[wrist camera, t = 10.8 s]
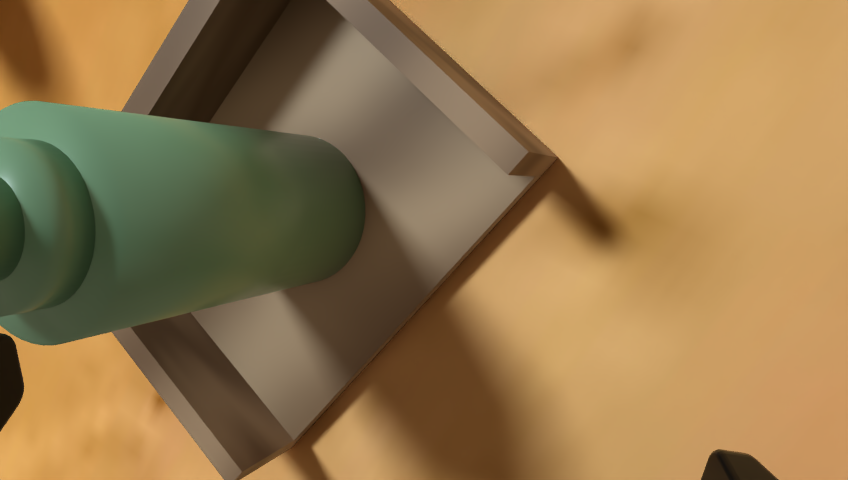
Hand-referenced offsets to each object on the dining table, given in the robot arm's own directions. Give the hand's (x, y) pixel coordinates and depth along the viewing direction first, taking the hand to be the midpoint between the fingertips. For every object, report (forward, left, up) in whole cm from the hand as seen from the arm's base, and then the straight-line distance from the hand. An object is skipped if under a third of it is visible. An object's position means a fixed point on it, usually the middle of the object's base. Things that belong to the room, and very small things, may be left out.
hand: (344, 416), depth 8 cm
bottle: (+6, +7, -12) cm, 16 cm away
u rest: (+6, +7, -13) cm, 16 cm away
